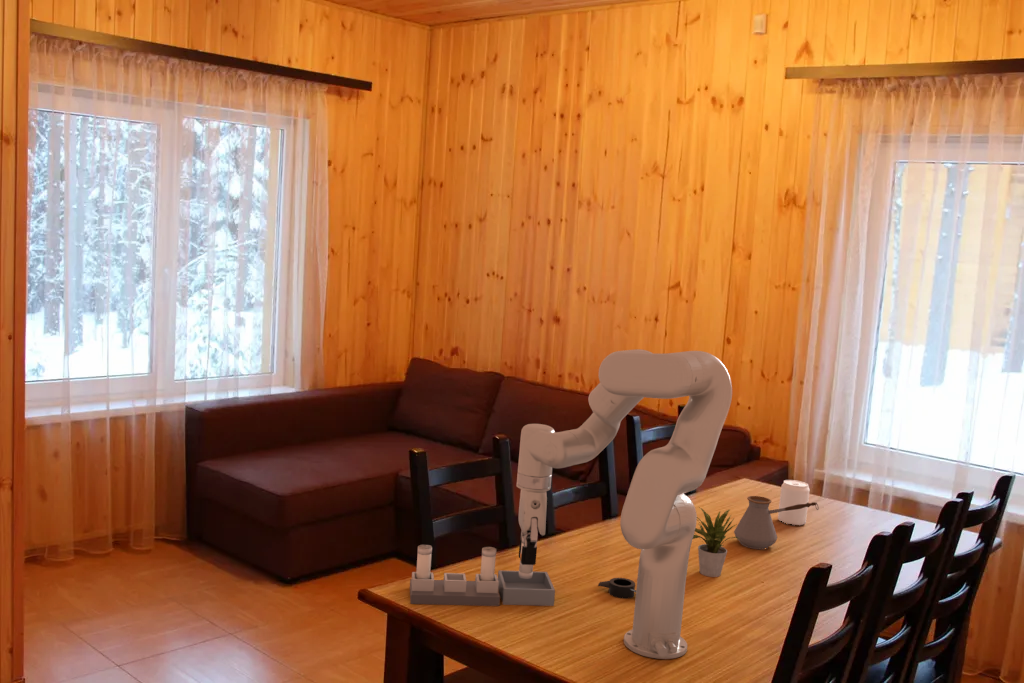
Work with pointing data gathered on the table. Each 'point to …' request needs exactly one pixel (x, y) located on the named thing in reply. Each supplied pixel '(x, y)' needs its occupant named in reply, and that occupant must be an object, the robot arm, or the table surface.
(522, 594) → the tray
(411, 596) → the block
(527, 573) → the marked fuse
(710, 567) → the house plant
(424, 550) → the fuse left
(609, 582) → the black ring with handle
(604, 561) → the table surface
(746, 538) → the coffee pot
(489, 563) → the fuse right
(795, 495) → the beverage can
